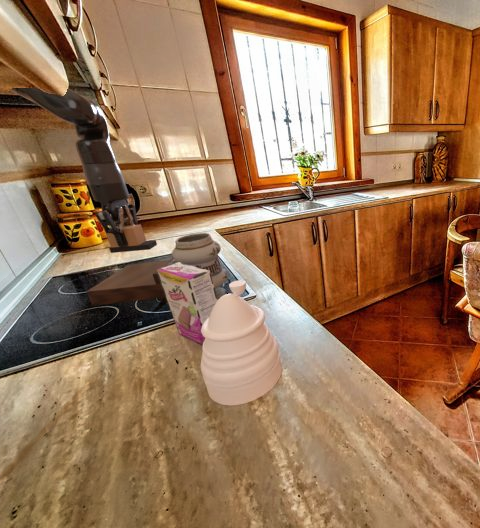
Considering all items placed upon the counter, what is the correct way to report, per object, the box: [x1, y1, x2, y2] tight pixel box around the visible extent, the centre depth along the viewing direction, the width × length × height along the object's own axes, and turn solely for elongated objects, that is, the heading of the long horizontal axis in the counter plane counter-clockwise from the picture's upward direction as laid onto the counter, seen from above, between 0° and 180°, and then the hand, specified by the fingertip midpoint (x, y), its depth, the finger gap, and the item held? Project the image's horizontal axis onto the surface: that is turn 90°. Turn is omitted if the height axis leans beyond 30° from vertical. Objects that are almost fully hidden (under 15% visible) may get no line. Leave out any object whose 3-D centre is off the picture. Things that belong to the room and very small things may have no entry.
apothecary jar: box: [171, 232, 229, 300], centre depth 77 cm, size 12×12×18 cm
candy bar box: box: [157, 262, 218, 346], centre depth 59 cm, size 11×5×16 cm, turn 61°
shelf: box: [86, 257, 178, 306], centre depth 83 cm, size 18×20×9 cm
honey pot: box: [199, 279, 283, 406], centre depth 47 cm, size 13×13×18 cm
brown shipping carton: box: [103, 224, 158, 254], centre depth 79 cm, size 10×5×6 cm, turn 100°
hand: (128, 243), depth 79 cm, fingers closed on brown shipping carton, 4 cm apart
